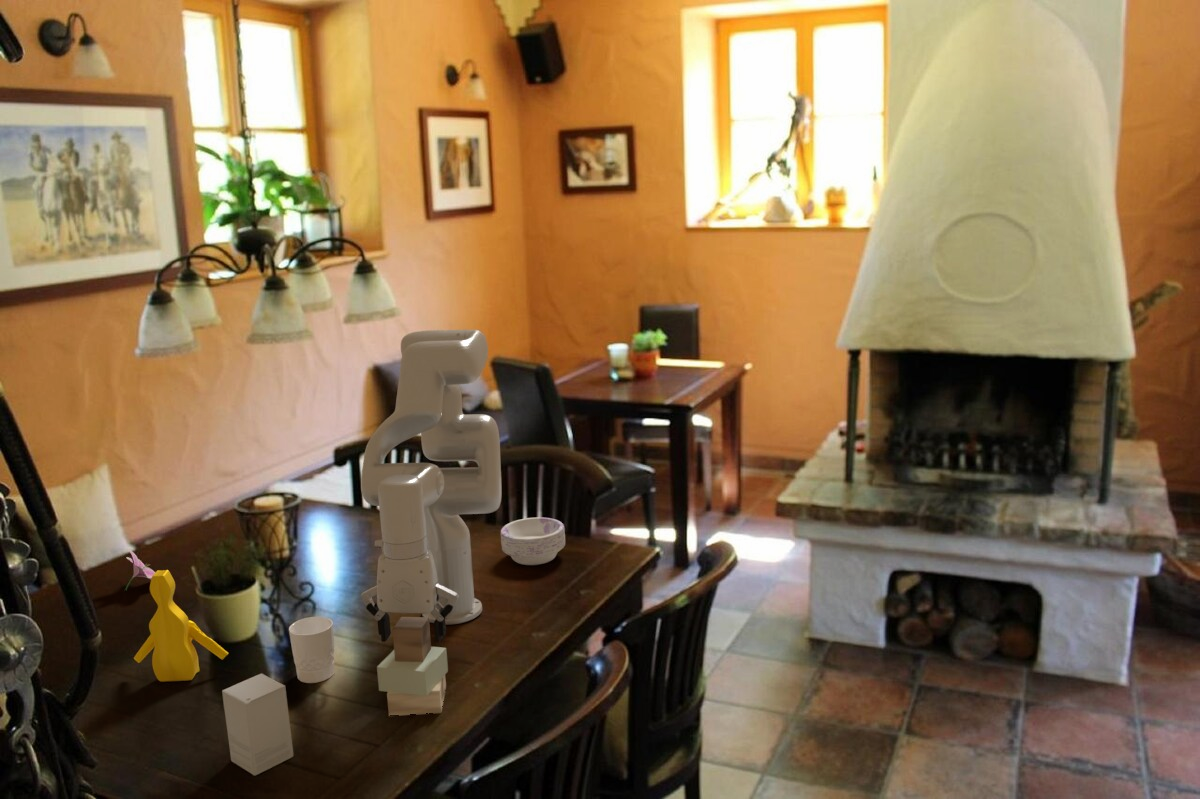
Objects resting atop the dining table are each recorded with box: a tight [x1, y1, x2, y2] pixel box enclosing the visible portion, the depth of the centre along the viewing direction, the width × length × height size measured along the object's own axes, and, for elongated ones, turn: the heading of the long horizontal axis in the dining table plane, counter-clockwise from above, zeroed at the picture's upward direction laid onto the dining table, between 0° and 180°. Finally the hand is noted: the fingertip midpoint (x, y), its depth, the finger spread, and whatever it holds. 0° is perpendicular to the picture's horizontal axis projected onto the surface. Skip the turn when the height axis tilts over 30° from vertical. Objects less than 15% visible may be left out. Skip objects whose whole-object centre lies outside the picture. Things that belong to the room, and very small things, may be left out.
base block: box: [386, 674, 447, 717], centre depth 184 cm, size 9×9×4 cm
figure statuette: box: [133, 569, 229, 682], centre depth 194 cm, size 18×8×22 cm, turn 91°
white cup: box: [288, 616, 335, 684], centre depth 195 cm, size 8×8×10 cm
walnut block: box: [392, 616, 432, 662], centre depth 182 cm, size 5×5×6 cm
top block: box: [376, 645, 449, 696], centre depth 183 cm, size 9×9×4 cm
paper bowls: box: [500, 516, 566, 566], centre depth 248 cm, size 15×15×8 cm
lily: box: [124, 545, 156, 591], centre depth 239 cm, size 12×12×10 cm
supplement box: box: [221, 673, 294, 776], centre depth 167 cm, size 7×7×13 cm
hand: (412, 638), depth 183 cm, fingers open, 9 cm apart
